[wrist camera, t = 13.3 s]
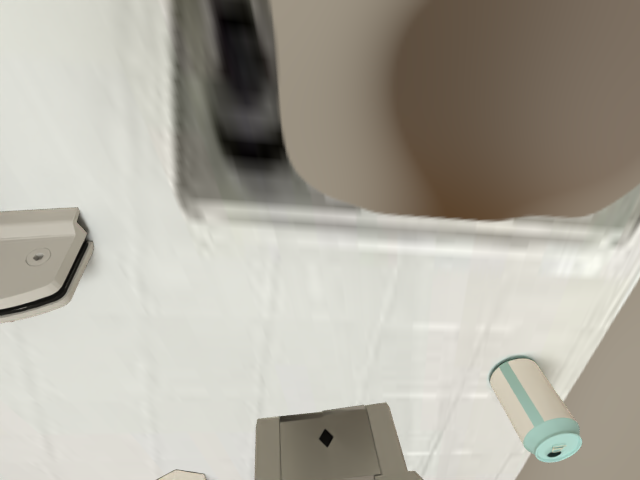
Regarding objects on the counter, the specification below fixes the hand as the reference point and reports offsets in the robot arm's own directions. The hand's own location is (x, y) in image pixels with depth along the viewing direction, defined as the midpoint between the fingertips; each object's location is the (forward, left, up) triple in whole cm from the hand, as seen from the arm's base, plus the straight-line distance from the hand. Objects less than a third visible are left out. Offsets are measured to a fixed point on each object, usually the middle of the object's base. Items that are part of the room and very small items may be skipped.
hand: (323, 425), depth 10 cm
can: (+42, +29, -34) cm, 62 cm away
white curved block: (+13, -29, -34) cm, 47 cm away
